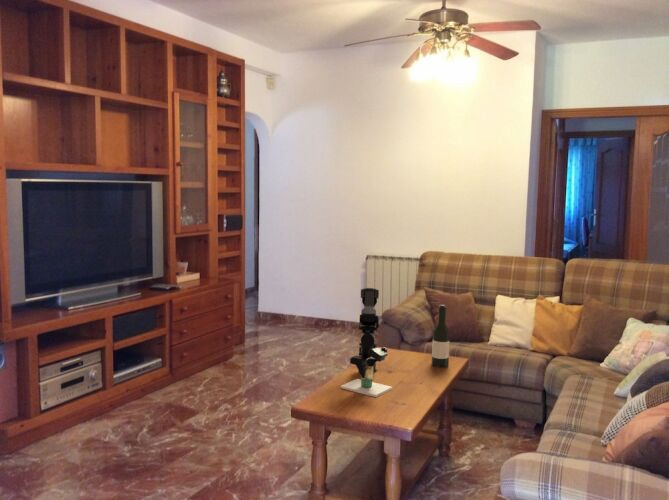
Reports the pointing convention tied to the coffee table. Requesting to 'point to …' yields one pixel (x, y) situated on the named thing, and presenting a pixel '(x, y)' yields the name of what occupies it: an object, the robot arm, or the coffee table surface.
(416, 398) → the coffee table surface
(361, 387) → the neck block
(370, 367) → the cap
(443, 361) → the wine bottle
